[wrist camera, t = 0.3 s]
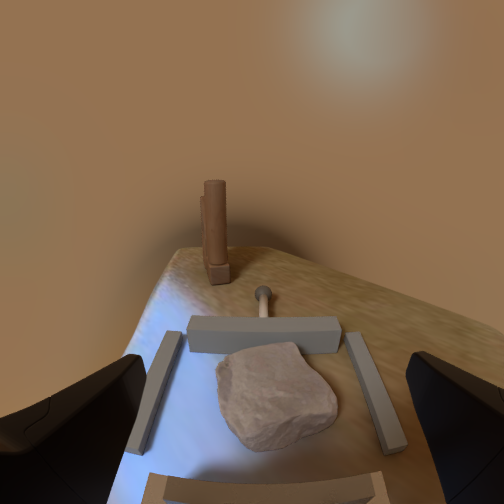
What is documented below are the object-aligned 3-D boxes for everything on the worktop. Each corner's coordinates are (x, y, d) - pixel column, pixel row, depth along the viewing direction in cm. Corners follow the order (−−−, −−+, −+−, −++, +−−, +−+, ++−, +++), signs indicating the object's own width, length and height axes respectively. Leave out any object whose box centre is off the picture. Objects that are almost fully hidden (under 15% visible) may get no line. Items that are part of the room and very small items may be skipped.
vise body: (403, 450, 17) (418, 430, 16) (122, 450, 18) (108, 430, 17) (339, 299, 44) (341, 280, 43) (186, 298, 45) (184, 278, 44)
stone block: (247, 468, 19) (345, 423, 22) (233, 447, 17) (347, 395, 20) (213, 387, 30) (291, 356, 32) (200, 359, 28) (286, 326, 30)
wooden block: (220, 261, 60) (217, 176, 53) (231, 283, 50) (228, 181, 44) (203, 263, 59) (198, 177, 52) (210, 286, 49) (205, 182, 43)
